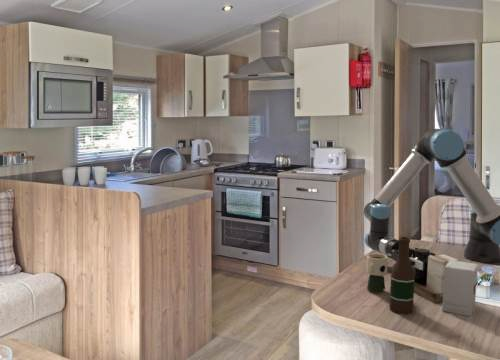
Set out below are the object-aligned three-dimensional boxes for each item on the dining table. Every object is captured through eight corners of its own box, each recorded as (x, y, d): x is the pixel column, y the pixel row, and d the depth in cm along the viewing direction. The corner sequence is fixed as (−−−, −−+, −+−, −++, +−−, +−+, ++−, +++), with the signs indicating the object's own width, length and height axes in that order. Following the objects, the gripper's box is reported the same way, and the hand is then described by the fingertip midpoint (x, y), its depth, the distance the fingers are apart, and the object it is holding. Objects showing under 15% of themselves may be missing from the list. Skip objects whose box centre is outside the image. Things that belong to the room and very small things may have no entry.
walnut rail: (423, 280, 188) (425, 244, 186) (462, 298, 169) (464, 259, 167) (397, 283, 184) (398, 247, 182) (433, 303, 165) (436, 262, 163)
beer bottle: (385, 305, 163) (388, 235, 160) (407, 304, 164) (411, 234, 160) (393, 314, 155) (397, 241, 152) (417, 314, 156) (421, 240, 153)
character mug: (379, 297, 170) (380, 261, 168) (360, 293, 174) (361, 257, 172) (391, 289, 178) (393, 254, 176) (372, 284, 183) (374, 250, 181)
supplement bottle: (433, 285, 176) (433, 253, 174) (413, 285, 177) (413, 252, 175) (430, 278, 182) (430, 247, 180) (410, 278, 184) (411, 247, 182)
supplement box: (471, 317, 154) (474, 271, 152) (441, 311, 159) (444, 266, 157) (475, 307, 162) (478, 263, 160) (446, 302, 166) (449, 259, 164)
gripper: (414, 254, 199) (455, 272, 178) (370, 260, 192) (407, 278, 171) (415, 236, 198) (456, 252, 177) (370, 241, 191) (408, 257, 170)
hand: (432, 264), depth 174 cm, fingers open, 8 cm apart
